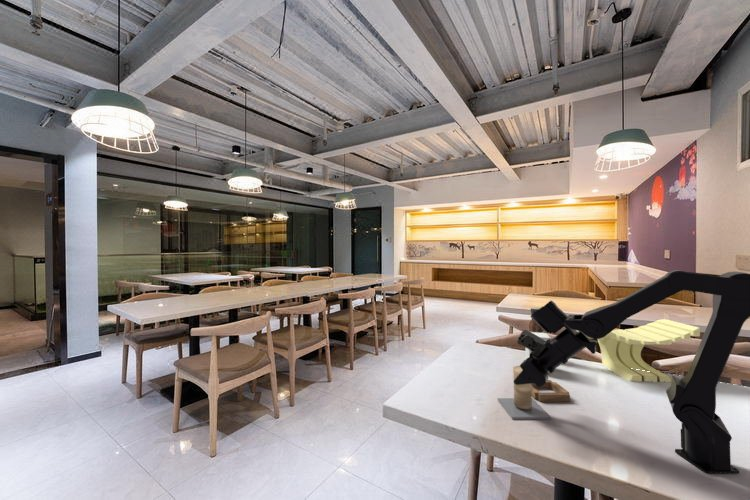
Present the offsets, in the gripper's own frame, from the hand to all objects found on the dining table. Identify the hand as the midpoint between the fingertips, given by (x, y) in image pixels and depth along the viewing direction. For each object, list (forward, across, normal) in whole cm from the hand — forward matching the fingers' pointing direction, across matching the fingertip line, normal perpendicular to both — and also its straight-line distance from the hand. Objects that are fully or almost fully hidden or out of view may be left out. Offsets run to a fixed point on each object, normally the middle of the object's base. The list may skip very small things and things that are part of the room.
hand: (517, 380), depth 84 cm
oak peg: (+4, 0, +6) cm, 7 cm away
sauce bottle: (+9, -48, +2) cm, 49 cm away
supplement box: (+7, -34, +4) cm, 35 cm away
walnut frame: (+2, -14, +8) cm, 16 cm away
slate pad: (+4, 0, +6) cm, 8 cm away
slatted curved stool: (-12, -50, +24) cm, 57 cm away
